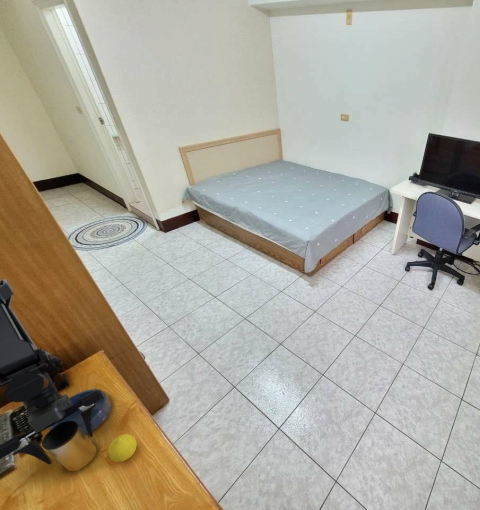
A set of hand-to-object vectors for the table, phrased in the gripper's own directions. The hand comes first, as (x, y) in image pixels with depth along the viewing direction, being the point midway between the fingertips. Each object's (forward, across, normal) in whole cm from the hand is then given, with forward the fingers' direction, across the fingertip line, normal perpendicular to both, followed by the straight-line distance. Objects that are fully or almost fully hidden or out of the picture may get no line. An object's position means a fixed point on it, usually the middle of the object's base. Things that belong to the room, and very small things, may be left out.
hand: (72, 449), depth 65 cm
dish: (-5, +3, +14) cm, 15 cm away
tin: (+4, 0, +6) cm, 7 cm away
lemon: (+10, +8, 0) cm, 12 cm away
